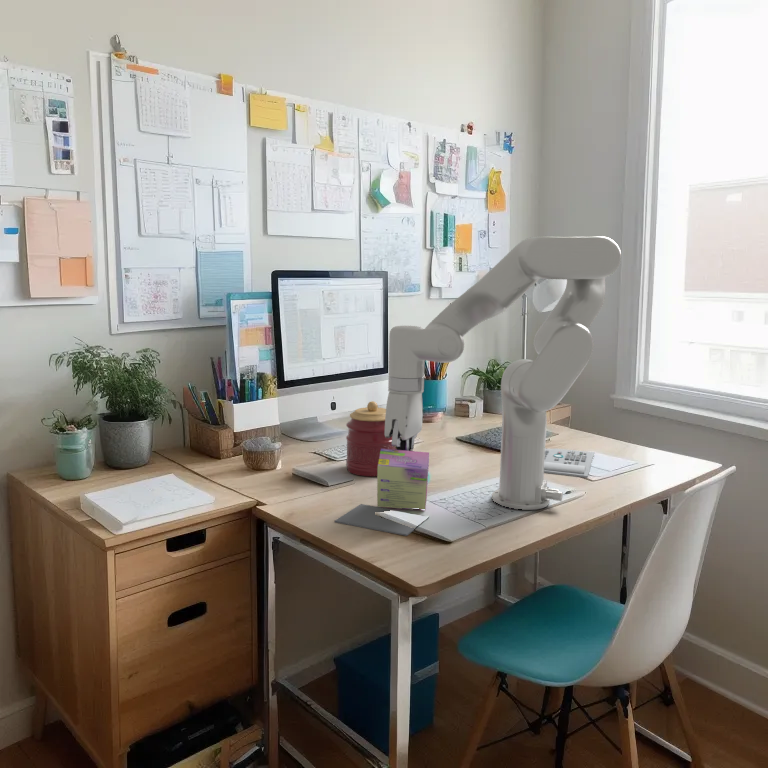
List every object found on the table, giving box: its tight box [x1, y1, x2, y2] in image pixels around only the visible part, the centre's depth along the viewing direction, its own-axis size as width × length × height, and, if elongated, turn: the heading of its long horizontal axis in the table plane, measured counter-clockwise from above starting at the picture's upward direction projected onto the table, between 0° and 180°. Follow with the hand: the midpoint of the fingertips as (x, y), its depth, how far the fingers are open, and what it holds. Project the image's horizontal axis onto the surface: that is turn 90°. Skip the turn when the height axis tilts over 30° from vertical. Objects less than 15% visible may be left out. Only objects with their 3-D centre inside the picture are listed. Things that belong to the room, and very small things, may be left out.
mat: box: [334, 503, 415, 537], centre depth 149 cm, size 16×12×1 cm
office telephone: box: [544, 447, 596, 479], centre depth 194 cm, size 23×3×20 cm
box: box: [376, 449, 430, 510], centre depth 153 cm, size 10×6×12 cm, turn 84°
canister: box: [345, 400, 395, 477], centre depth 182 cm, size 13×13×18 cm
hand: (404, 468), depth 157 cm, fingers closed
